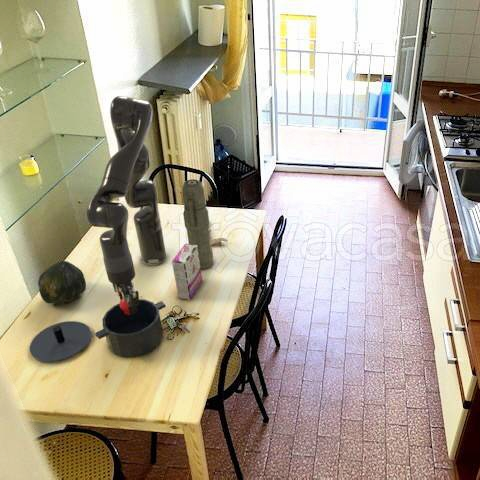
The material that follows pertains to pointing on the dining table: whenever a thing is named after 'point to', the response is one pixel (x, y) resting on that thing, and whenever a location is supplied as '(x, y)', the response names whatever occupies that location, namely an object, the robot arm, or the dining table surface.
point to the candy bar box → (187, 271)
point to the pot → (133, 329)
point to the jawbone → (216, 241)
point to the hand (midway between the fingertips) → (129, 309)
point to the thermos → (197, 221)
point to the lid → (60, 341)
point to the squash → (61, 283)
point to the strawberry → (124, 305)
